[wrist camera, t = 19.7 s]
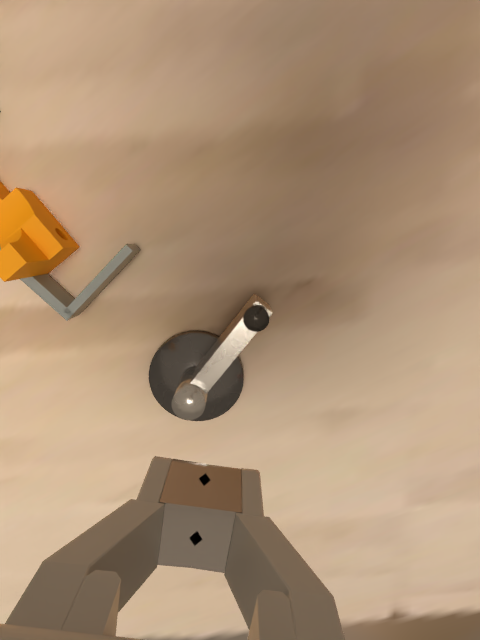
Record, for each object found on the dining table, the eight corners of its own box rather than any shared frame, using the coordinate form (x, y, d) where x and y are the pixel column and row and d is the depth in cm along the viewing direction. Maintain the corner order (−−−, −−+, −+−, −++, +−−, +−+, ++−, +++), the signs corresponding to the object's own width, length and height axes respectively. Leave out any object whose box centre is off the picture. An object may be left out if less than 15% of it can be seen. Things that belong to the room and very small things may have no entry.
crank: (199, 397, 35) (192, 426, 30) (176, 381, 34) (164, 407, 29) (273, 307, 32) (279, 320, 27) (249, 288, 32) (251, 299, 27)
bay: (-7, 104, 29) (-30, 91, 27) (140, 249, 32) (132, 250, 30) (-68, 183, 31) (-94, 178, 28) (79, 314, 34) (66, 320, 31)
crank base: (196, 311, 34) (195, 314, 33) (262, 376, 36) (263, 380, 34) (132, 373, 35) (128, 378, 34) (197, 432, 37) (196, 438, 36)
